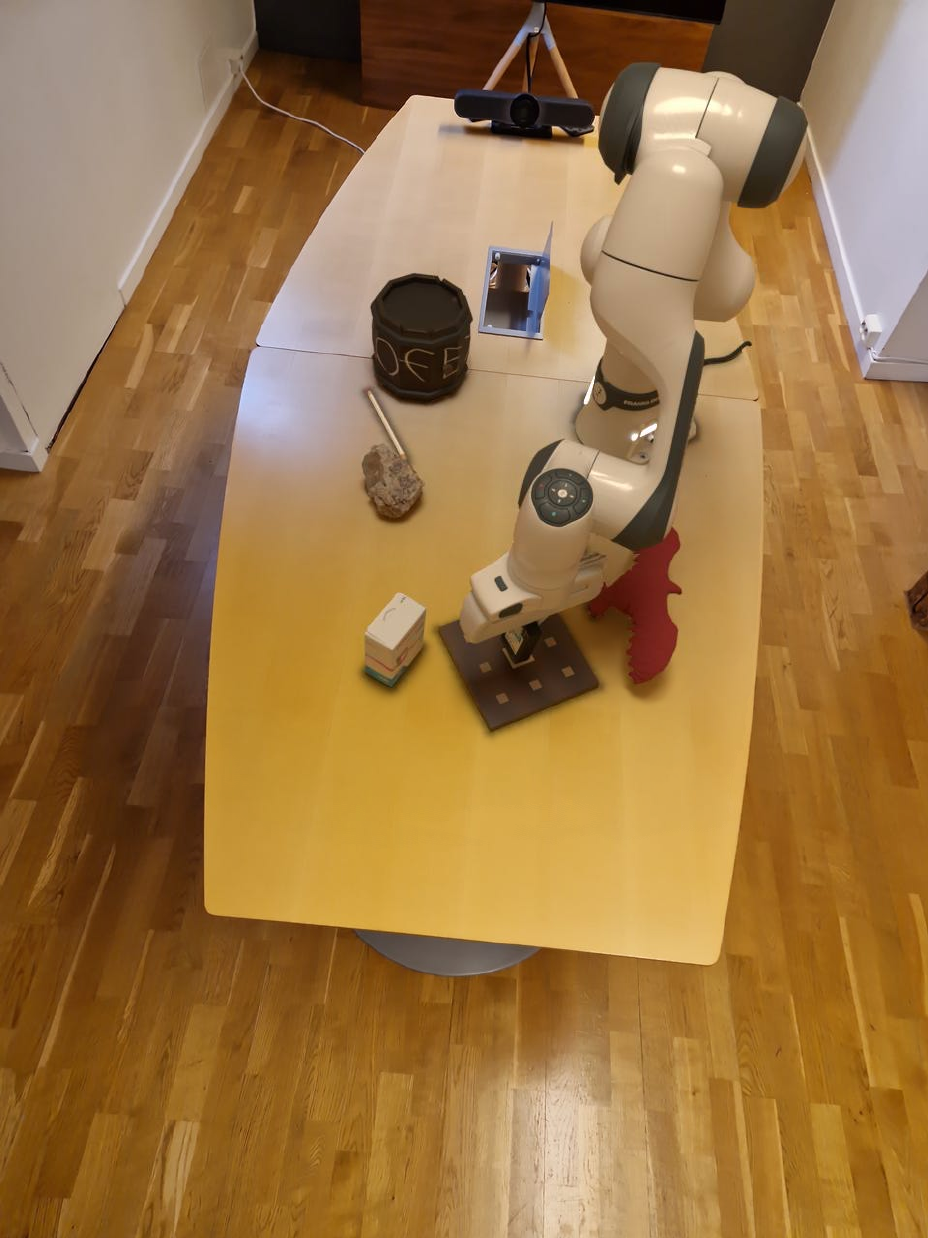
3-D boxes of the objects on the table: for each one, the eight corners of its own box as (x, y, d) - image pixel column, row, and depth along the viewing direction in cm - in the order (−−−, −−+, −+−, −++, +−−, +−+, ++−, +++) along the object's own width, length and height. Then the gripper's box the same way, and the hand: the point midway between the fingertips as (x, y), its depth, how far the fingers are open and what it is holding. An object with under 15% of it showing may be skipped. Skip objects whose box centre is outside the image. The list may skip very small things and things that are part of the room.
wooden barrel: (401, 421, 146) (401, 351, 133) (355, 358, 153) (352, 286, 140) (486, 389, 152) (495, 319, 138) (438, 330, 159) (442, 258, 146)
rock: (388, 536, 136) (428, 510, 130) (334, 494, 130) (374, 465, 124) (399, 500, 142) (439, 473, 135) (348, 457, 136) (387, 428, 130)
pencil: (370, 390, 149) (369, 387, 149) (408, 463, 141) (408, 460, 140) (365, 391, 149) (365, 389, 149) (404, 464, 141) (404, 461, 140)
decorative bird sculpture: (605, 704, 125) (694, 684, 115) (569, 678, 119) (658, 654, 110) (616, 556, 139) (696, 527, 130) (584, 527, 134) (664, 494, 124)
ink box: (392, 689, 118) (392, 650, 108) (364, 672, 120) (361, 632, 109) (424, 647, 122) (427, 605, 112) (397, 631, 124) (397, 588, 113)
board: (541, 592, 129) (542, 588, 128) (598, 686, 121) (600, 682, 120) (438, 631, 124) (438, 626, 123) (490, 731, 116) (491, 727, 115)
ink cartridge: (499, 638, 120) (512, 607, 113) (512, 634, 121) (526, 603, 114) (514, 666, 118) (528, 636, 111) (527, 661, 119) (542, 631, 112)
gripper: (598, 530, 108) (577, 588, 119) (458, 579, 102) (451, 635, 114) (622, 567, 105) (599, 622, 117) (480, 619, 99) (471, 672, 111)
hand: (525, 628), depth 115 cm, fingers closed, pressing on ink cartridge
